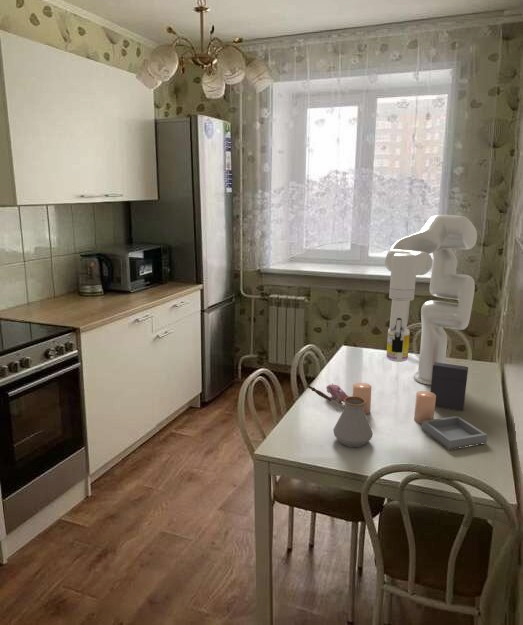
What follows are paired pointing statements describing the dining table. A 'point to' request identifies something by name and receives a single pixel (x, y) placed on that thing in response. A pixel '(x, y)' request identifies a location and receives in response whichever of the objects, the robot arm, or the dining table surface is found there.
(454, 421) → the tray
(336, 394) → the pink purple bumpy rod
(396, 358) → the supplement bottle
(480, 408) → the dining table surface
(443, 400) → the dark grey rectangular block
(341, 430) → the coffee pot
